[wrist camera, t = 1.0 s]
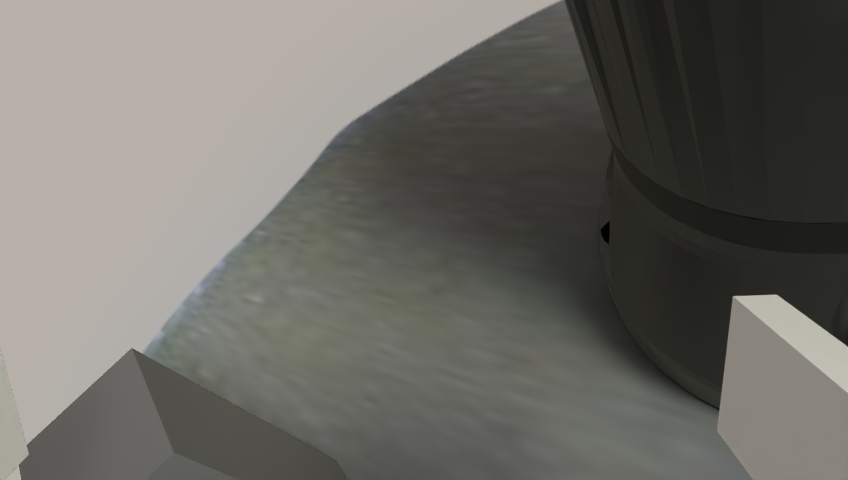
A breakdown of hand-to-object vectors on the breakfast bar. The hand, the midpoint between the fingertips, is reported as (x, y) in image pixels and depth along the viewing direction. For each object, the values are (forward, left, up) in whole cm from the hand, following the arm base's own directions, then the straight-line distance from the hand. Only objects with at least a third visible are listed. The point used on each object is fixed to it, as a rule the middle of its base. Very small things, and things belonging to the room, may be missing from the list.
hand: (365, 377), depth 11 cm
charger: (+8, -7, -15) cm, 18 cm away
